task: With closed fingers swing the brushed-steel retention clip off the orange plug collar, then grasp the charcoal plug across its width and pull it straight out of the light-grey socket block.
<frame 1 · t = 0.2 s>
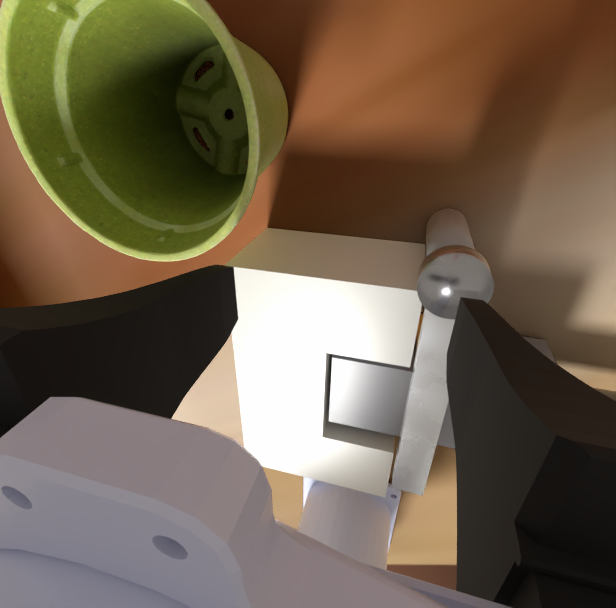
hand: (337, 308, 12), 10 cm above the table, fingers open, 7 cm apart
plug: (469, 389, 21), point 3 cm above the table, slide at 0.0 cm
socket block: (336, 337, 25), on the table
plant pot: (236, 112, 20), on the table
clip: (428, 390, 17), point 7 cm above the table, hinge at 0.0°
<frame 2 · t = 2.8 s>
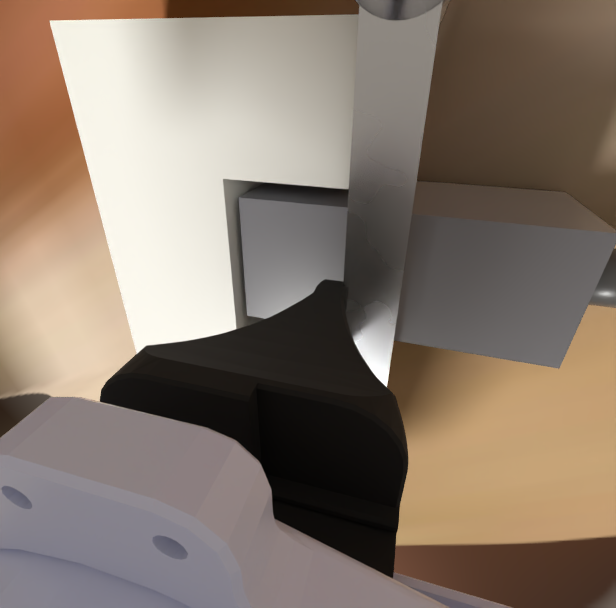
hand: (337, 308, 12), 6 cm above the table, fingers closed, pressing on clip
plug: (451, 263, 14), point 3 cm above the table, slide at 0.0 cm
socket block: (272, 219, 18), on the table
clip: (380, 213, 10), point 6 cm above the table, hinge at 0.9°, touching gripper
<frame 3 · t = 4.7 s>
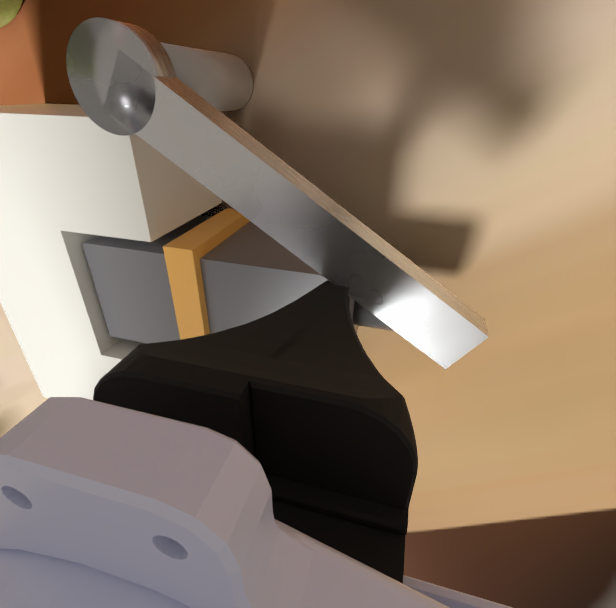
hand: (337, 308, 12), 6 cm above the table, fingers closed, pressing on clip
plug: (272, 293, 17), point 3 cm above the table, slide at 0.0 cm
socket block: (153, 249, 21), on the table
clip: (284, 204, 11), point 7 cm above the table, hinge at 57.0°, touching gripper
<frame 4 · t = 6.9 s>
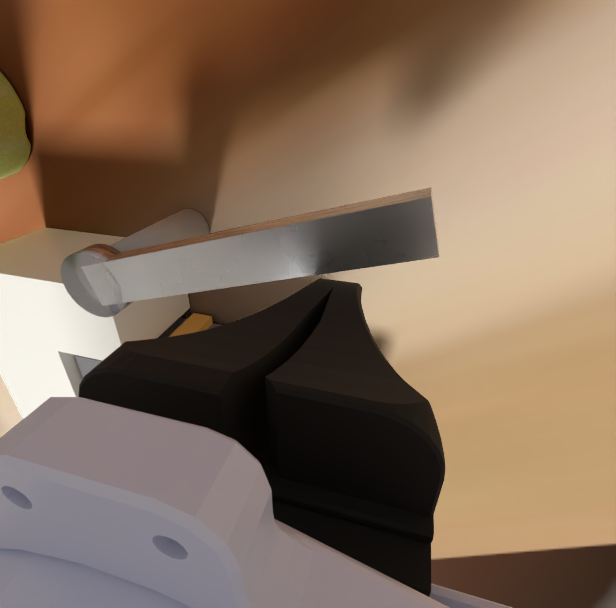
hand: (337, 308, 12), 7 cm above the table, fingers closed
plug: (227, 388, 21), point 3 cm above the table, slide at 0.0 cm
socket block: (135, 336, 25), on the table
clip: (221, 259, 12), point 6 cm above the table, hinge at 106.5°
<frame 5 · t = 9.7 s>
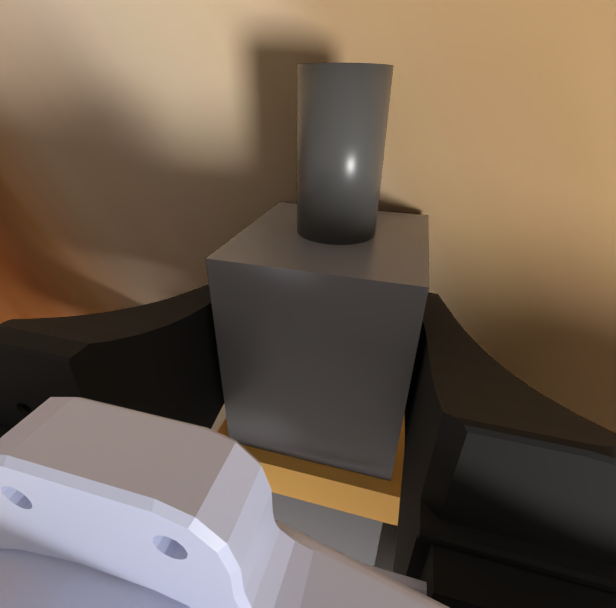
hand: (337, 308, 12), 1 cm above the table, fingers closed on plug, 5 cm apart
plug: (326, 354, 11), point 3 cm above the table, slide at 0.0 cm, touching gripper
socket block: (333, 456, 18), on the table
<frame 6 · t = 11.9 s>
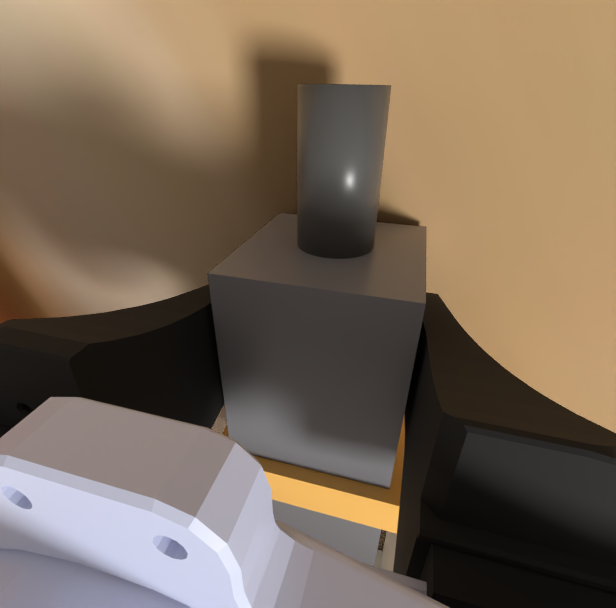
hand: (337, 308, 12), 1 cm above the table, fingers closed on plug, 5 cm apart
plug: (326, 364, 11), point 3 cm above the table, slide at 6.6 cm, touching gripper
socket block: (327, 540, 21), on the table
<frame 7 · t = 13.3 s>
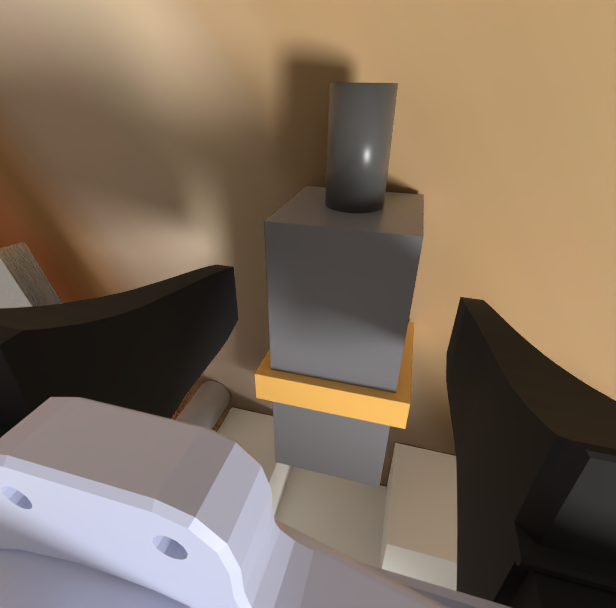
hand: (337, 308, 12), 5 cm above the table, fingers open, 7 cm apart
plug: (345, 303, 14), point 3 cm above the table, slide at 6.6 cm
socket block: (338, 480, 24), on the table
clip: (94, 400, 15), point 7 cm above the table, hinge at 106.6°
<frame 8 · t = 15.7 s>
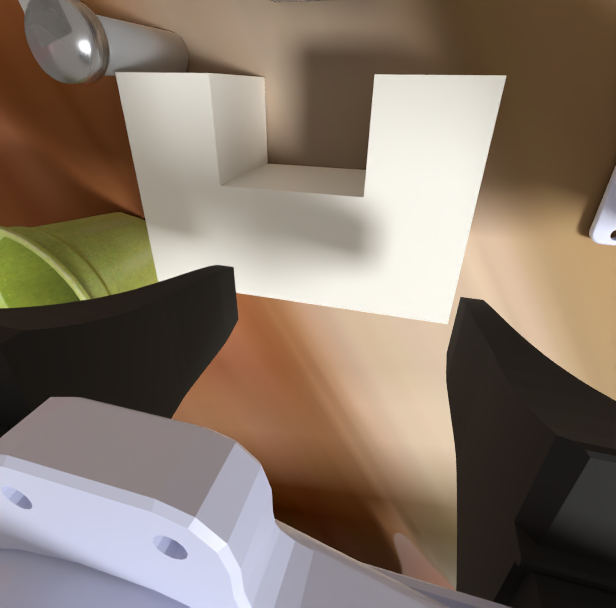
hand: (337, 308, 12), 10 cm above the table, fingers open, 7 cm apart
socket block: (321, 176, 20), on the table
plant pot: (136, 253, 26), on the table
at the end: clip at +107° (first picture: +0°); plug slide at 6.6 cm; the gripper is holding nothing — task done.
